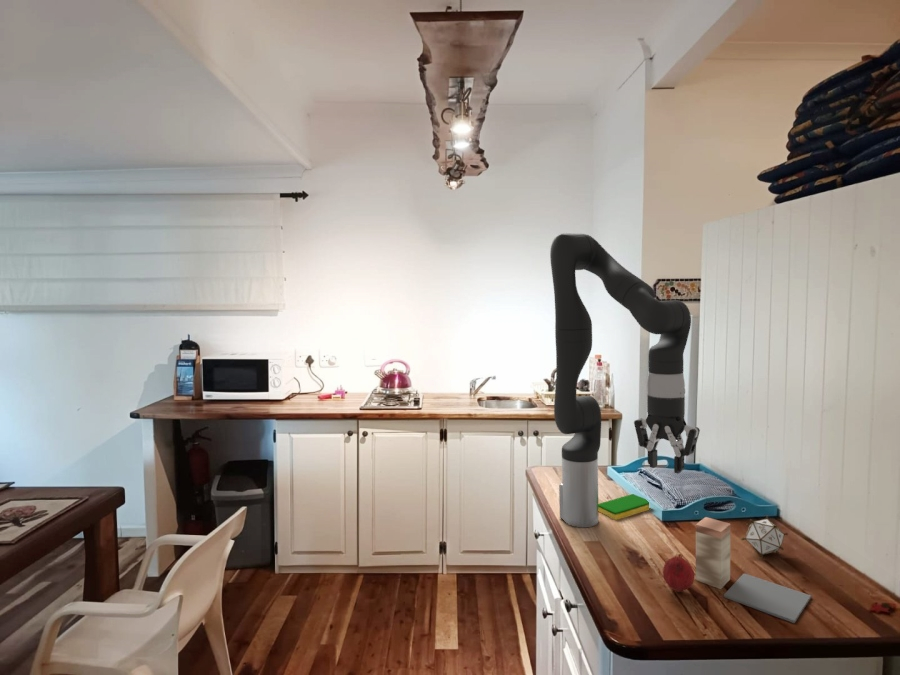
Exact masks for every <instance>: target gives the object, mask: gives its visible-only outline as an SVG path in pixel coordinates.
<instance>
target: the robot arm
mask: <svg viewBox="0 0 900 675" xmlns="http://www.w3.org/2000/svg"><path fill="white" fill-rule="evenodd" d="M549 252H550V253H549V254H550V259H549V260H550V266H551V275H552V285H553V292H554V293H553V294H554V295H553V296H554V309H555V310H554V311H555V312H554V314H555V315H554V316H555V322H554V324H555V326H554V327H555V328H554V329H555V330H554V331H555V332H554V333H555V334H554V335H555V336H554V337H555V354H556V355H555V357H556V362H555V364H556V365H555V366H556V370H555V374H556V376H555V388H554V389H555V392H554V401H553V402H554V405H553V414H554V416H553V417H554V422H555V425H556V428H557V429H558V430H559V432H560V433H562V434H563V435H572V434H574V435H573V436H572V437H571V438H570V439H569V440H568V441H567V442H565V443H564V444H563V445H561V446H562V447H561V477H562V478H561V480H562V482H561V483H559V485H558V487H559V488H558V490H559V492H558V497H559V498H558V499H559V502H558V503H559V505H558V506H559V519H560V518H562V519H563V520H564V521H565V522H566V523H565V522H564V521H563V522H564V523H565V524H567V523H568V524H567V525H569V526H571V525H572V527H575V526H577V527H578V528H589V527H591V528H592V527H594V526H596V525H597V524H598V523H599V512H598V504H599V461H598V460H599V456H598V454H599V451H600V448H601V435H602V412H601V408H600V404H599V402H598V401H597V399H595V398H594V397H593V396H591V395H581V396H580V395H579V396H577V388H578V380H579V378H580V375H581V373H582V370H583V369H584V366H585V364H586V363H587V361H588V359H589V357H590V354H591V351H592V348H593V325H592V324H593V323H592V322H593V321H592V320H591V316H590V314H589V312H588V309H587V307H586V306H585V304H584V302H583V300H582V298H581V296H580V294H579V292H578V287H577V282H576V271H582V270H585V271H588V272H590V273H592V274H593V275H595V276H597V277H598V278H599V279H601V281H602V283H603V286H604V289H605V290H606V292H607V293H608V295H609V296H610V297H611V298H612V299H613V300H615V302H618V303H619V304H620V305H621V306H622V307H623V308H625V309H627V310H628V311H629V312H630V314H631V316H632V317H633V318H634V319H635V321H636V322H637V323H638V325H639V326H640V327H641V328H642V329H643V330H644V331H646V332H648V333H650V334H653V335H660V337H659V340H658V342H657V343H655V344H654V345H652V346H650V348H649V350H648V356H647V357H648V358H647V359H648V366H647V367H648V371H647V372H648V373H647V379H646V380H647V381H646V383H647V384H646V388H647V389H646V392H647V393H646V400H647V403H646V407H647V408H646V409H647V410H646V411H647V417H646V418H642V417H641V418H638V419H636V420H634V421H633V424H634V427H635V428H634V429H635V433H636V436H637V441H638V445H639V446H640V447H642V448H645V449H646V451H647V463H648V465H649V467H650V468H652V469H655V468H656V467H657V466H658V449H657V447H658V445H659V443H660V441H661V440H666V441H667V442H669V444H670V446H671V447H672V449H673V451H674V455H675V456H674V457H673V458H674V459H673V461H674V464H673V468H674V472H673V473H675V474H677V475H678V474H680V473H682V471H684V469H685V457H688V456H690V455H691V454H693V453H695V450H696V446H697V442H698V439H699V434H700V431H701V429H700V428H699V427H693V426H690V425H688V424H687V423H686V420H685V416H686V415H685V412H686V409H685V408H686V406H685V404H686V403H685V400H686V399H685V398H686V397H685V394H686V388H685V387H686V384H685V376H684V375H685V374H684V352H685V349H686V347H687V343H688V338H689V334H690V330H691V325H692V316H691V312H690V309H689V306H687V305H686V304H685V303H684V302H683V301H681V300H677V299H676V300H675V299H673V300H672V299H670V300H659V299H656V292H655V290H654V289H653V287H652V286H650V285H649V284H648V283H647V282H646V281H644V280H643V279H641V278H640V277H638V276H636V275H635V274H633V273H632V272H631V271H629V270H628V269H626V268H625V267H624V266H622V265H621V263H619V262H618V261H617V260H616V259H615V258H614V257H613V256H612V255H611V254H610V253H609V252H608V251H607V250H606V249H605V248H604V247H603V246H602V245H601V243H600V242H598V241H597V240H596V239H595V238H594V237H592V236H591V235H589V234H585V233H567V232H566V233H565V232H564V233H560V234H557V235H556V236H555V237H554V238H553V240H552V242H551V246H550V251H549ZM647 428H649V429H650V431H651V432H650V435H649V436H648V432H647ZM683 432H685V436H686V437H687V438H686V442H685V445H684V439H683V436H682V433H683ZM562 519H561V520H562ZM577 527H576V528H577Z"/></svg>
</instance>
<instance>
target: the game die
mask: <svg viewBox="0 0 900 675" xmlns="http://www.w3.org/2000/svg"><path fill="white" fill-rule="evenodd" d="M749 521H750V522H751V523H750V524H749V523H746V527H748V528H747V531H746V534H745V537H741V539H740V540H742V541H746V542H747V543H748V544H750V546H752V548H754V549H755V550H756V551H757V553H759V554H760V556H759V557H760V559H763V558H764V555H768V554H771V553H776V554H777V555H779V554H780V552H779V550H781V551H785V548H784V547H782V545H783V541H784V539H785V536H788V535H789V533H788V532H785V533H784V531H782V530H781V529H779V528H778V525H777V524H774V523H773V522H772V521H771V520H770V519H769V515H766V516H765V518H764V519H759V520H754V519H751V518H750V519H749Z"/></svg>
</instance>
